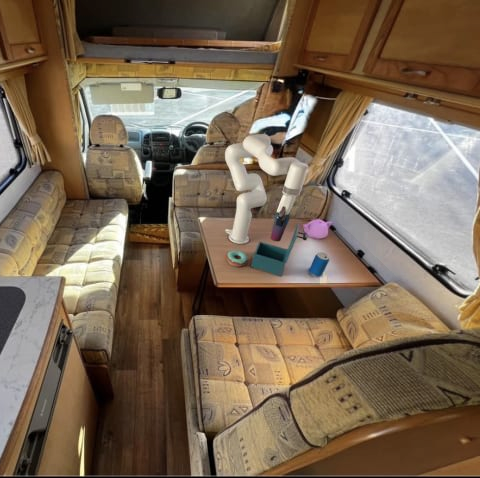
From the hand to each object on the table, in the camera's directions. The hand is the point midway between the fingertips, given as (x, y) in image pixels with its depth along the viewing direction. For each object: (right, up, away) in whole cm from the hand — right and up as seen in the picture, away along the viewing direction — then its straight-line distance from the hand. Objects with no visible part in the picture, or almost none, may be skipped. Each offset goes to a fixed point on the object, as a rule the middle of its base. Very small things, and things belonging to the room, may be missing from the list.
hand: (280, 222), depth 131 cm
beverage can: (+23, -27, +10) cm, 37 cm away
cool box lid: (+7, -10, +3) cm, 13 cm away
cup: (0, -8, +6) cm, 10 cm away
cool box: (0, -22, +16) cm, 27 cm away
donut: (-17, -21, +18) cm, 32 cm away
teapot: (+41, -5, +41) cm, 58 cm away
